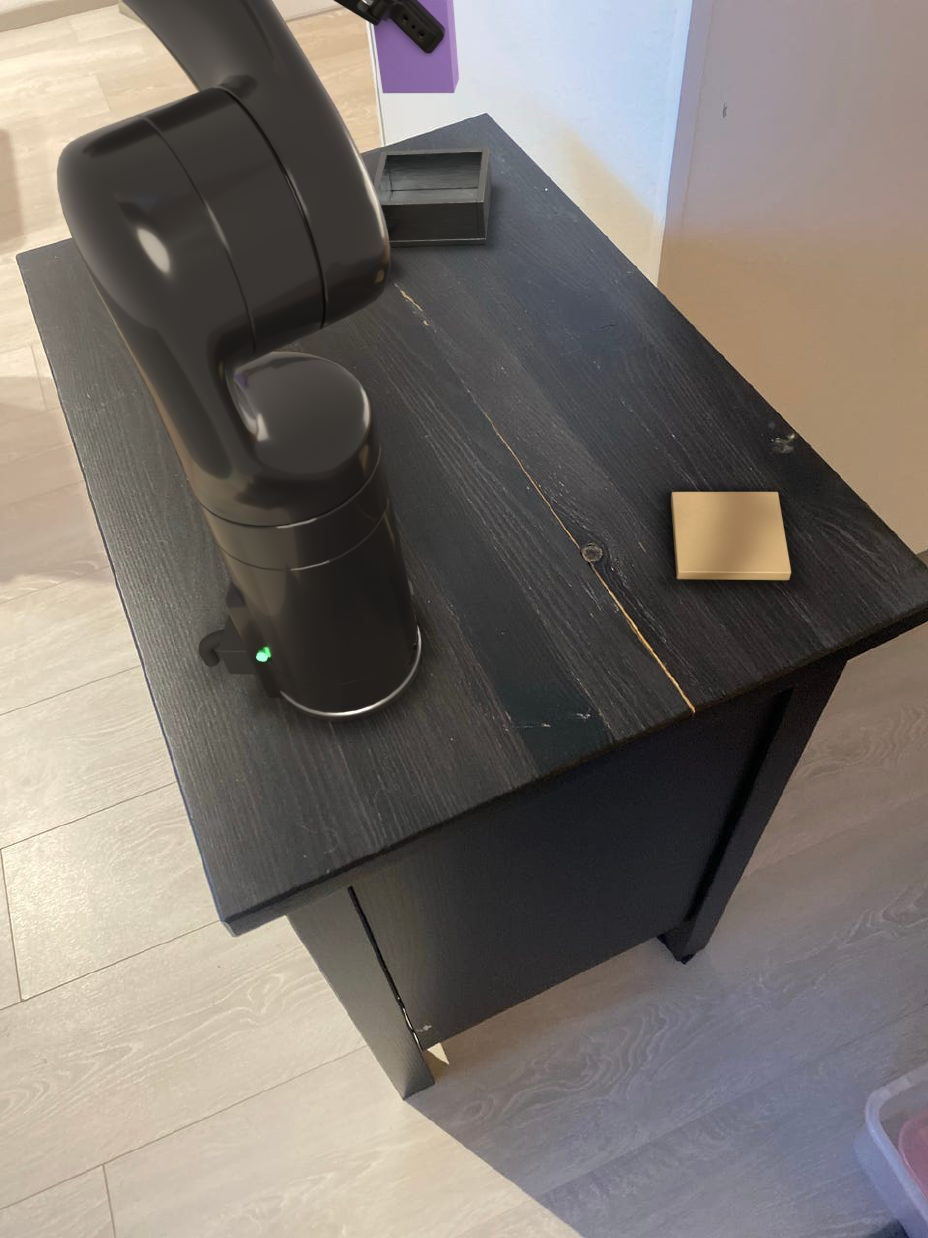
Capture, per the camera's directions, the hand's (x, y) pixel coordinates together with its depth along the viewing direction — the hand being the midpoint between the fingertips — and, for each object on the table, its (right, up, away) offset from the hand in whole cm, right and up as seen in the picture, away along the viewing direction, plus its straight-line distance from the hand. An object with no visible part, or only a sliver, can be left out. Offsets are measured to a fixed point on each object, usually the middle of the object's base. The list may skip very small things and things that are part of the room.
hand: (440, 33), depth 75 cm
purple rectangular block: (-2, -2, +3) cm, 4 cm away
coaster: (+19, -41, -12) cm, 47 cm away
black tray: (-1, -9, +13) cm, 16 cm away
